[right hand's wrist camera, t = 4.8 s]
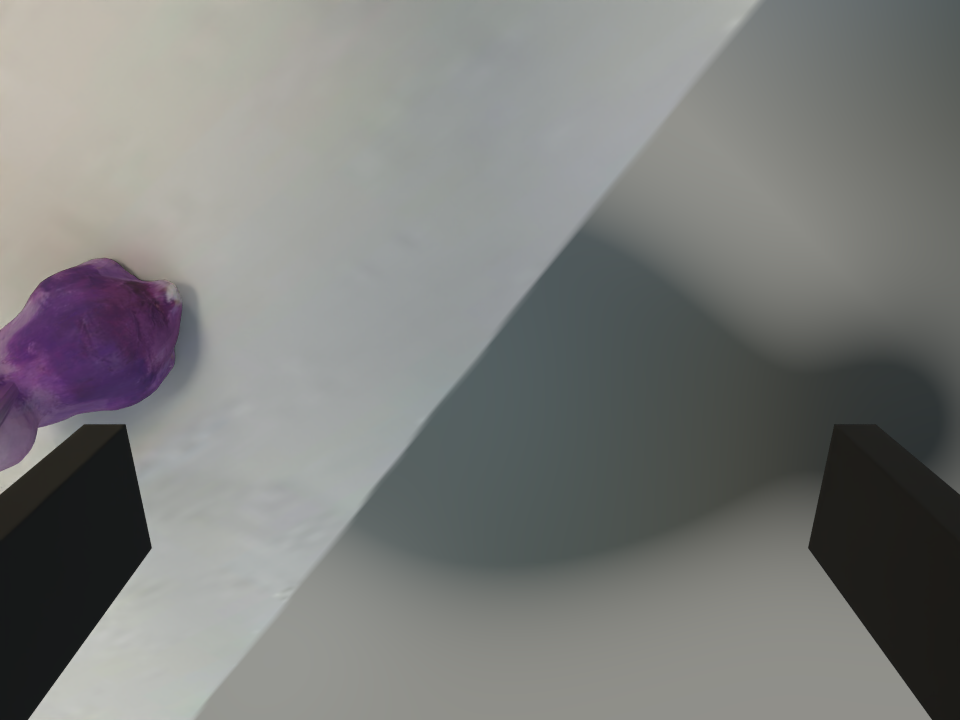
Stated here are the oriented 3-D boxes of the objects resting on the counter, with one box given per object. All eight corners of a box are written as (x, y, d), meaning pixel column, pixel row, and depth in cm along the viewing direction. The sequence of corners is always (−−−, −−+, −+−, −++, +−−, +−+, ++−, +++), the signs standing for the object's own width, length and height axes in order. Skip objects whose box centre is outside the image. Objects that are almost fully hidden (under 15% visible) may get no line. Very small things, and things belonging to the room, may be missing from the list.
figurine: (32, 395, 43) (-186, 542, 29) (31, 237, 39) (-220, 317, 25) (184, 426, 43) (43, 584, 29) (196, 274, 40) (43, 371, 26)
